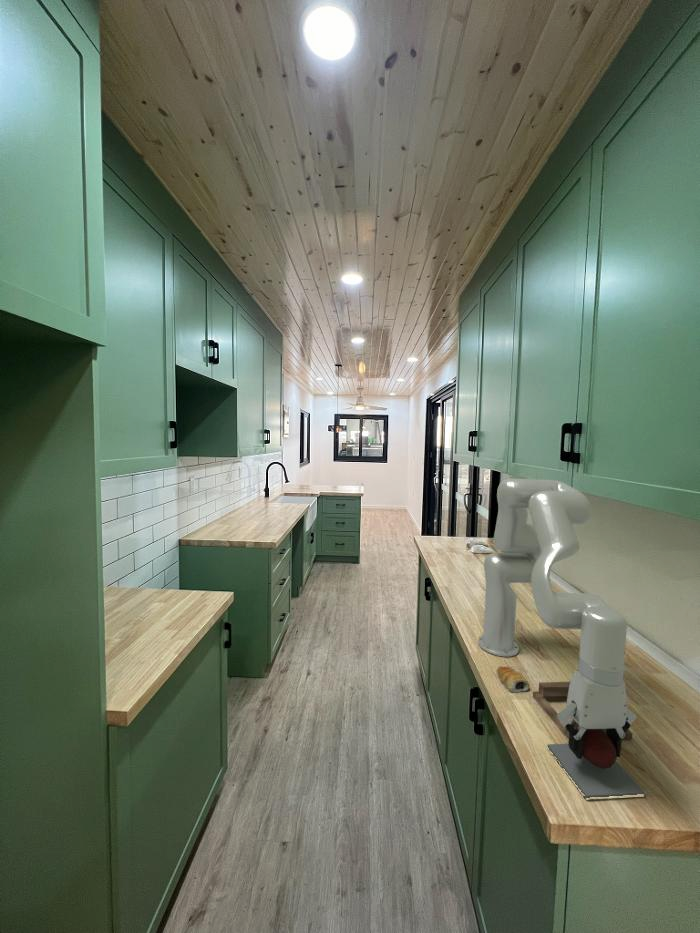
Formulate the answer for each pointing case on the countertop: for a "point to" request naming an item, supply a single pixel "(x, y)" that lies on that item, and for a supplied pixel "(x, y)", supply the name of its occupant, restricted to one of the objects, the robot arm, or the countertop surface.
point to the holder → (557, 694)
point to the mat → (595, 775)
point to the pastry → (512, 679)
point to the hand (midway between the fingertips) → (593, 751)
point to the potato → (598, 748)
